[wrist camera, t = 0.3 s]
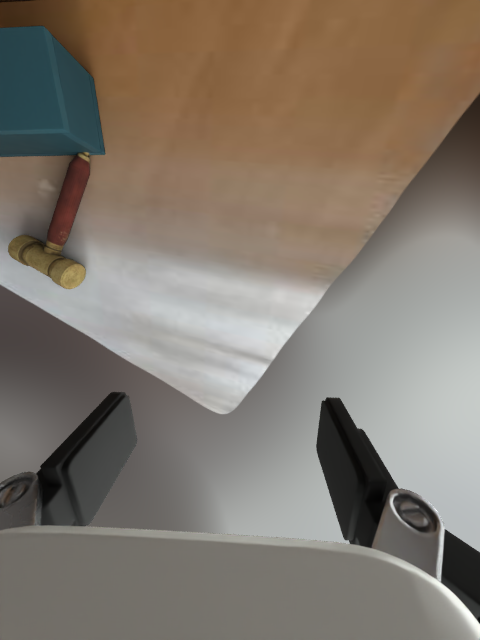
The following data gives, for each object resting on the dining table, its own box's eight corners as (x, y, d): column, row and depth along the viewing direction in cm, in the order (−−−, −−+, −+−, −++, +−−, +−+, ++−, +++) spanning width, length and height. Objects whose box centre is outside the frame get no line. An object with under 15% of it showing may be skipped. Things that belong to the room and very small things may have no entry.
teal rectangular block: (-29, 82, 32) (-115, 33, 25) (93, 78, 32) (43, 25, 24) (-8, 157, 35) (-80, 132, 28) (105, 154, 34) (63, 129, 27)
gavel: (43, 120, 31) (105, 155, 31) (71, 140, 36) (125, 171, 36) (3, 259, 36) (57, 290, 36) (33, 261, 40) (81, 289, 40)
